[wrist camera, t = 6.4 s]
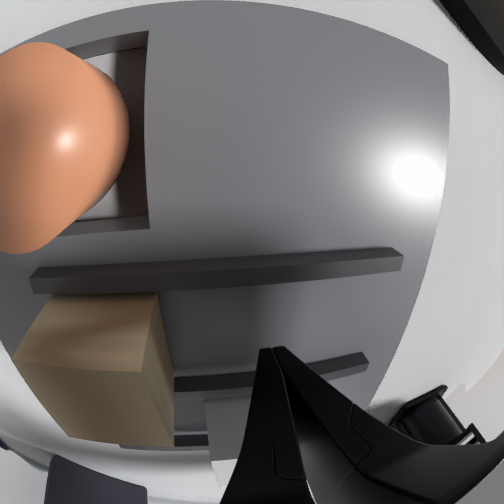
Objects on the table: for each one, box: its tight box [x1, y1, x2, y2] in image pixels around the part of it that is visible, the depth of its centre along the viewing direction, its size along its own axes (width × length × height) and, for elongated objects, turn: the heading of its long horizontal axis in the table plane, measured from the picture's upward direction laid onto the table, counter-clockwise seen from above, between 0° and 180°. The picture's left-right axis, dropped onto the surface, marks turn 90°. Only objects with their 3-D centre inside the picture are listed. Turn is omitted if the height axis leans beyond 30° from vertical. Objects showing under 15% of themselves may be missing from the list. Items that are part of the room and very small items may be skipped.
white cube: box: [204, 395, 251, 487], centre depth 10 cm, size 4×4×4 cm
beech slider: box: [11, 292, 174, 447], centre depth 7 cm, size 4×4×4 cm
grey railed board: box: [0, 0, 450, 451], centre depth 9 cm, size 20×20×2 cm
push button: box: [0, 42, 130, 254], centre depth 5 cm, size 5×5×3 cm
